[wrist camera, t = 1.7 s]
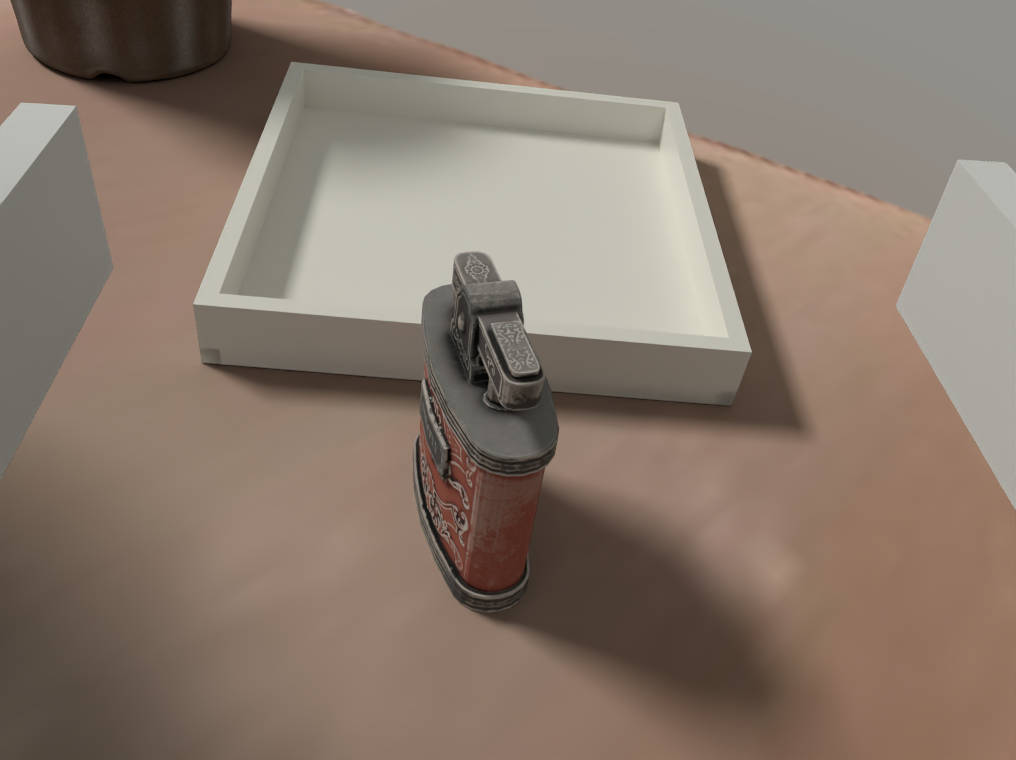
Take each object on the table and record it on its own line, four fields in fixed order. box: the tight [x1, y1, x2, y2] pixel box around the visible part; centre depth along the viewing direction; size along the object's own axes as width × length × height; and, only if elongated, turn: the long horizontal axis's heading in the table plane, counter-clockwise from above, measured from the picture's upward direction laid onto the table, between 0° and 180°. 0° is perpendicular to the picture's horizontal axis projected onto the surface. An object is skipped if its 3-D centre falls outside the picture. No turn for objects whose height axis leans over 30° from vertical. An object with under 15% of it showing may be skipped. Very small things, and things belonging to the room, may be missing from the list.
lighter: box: [413, 251, 559, 613], centre depth 30 cm, size 8×3×10 cm, turn 17°
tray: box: [193, 62, 752, 406], centre depth 46 cm, size 22×22×3 cm
